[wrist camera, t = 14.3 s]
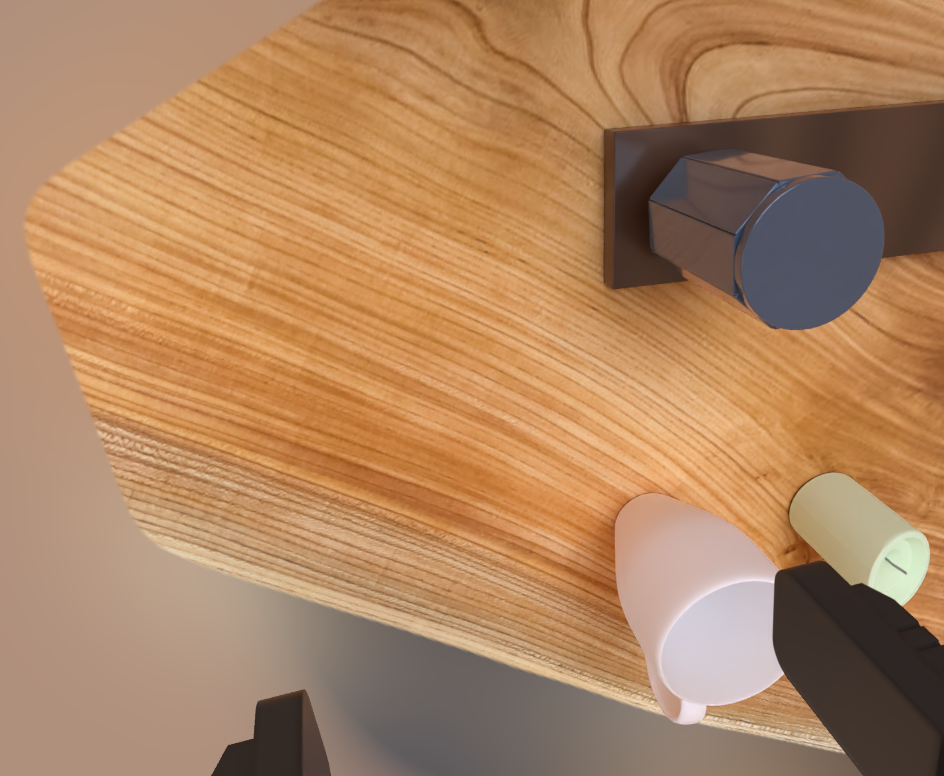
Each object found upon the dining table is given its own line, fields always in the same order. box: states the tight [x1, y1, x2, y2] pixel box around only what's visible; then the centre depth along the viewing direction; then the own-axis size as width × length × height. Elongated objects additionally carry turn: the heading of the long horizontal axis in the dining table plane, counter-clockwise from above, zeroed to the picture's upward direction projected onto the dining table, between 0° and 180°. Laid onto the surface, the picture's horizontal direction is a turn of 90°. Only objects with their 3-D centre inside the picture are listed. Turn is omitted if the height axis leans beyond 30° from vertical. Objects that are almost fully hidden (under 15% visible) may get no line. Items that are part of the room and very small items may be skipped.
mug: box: [615, 493, 784, 724], centre depth 44 cm, size 12×8×11 cm
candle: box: [789, 472, 930, 606], centre depth 47 cm, size 5×5×8 cm
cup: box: [648, 148, 885, 330], centre depth 34 cm, size 6×6×9 cm
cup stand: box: [604, 100, 944, 289], centre depth 36 cm, size 22×8×12 cm, turn 94°
